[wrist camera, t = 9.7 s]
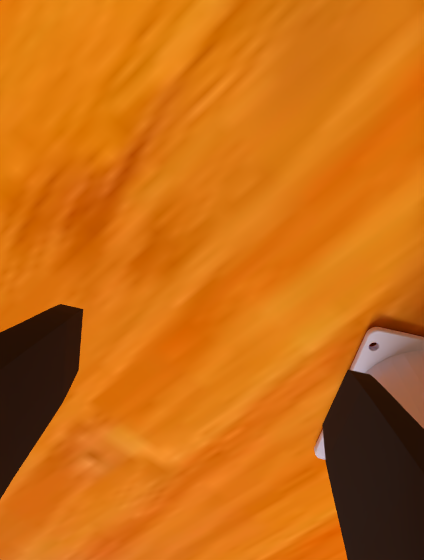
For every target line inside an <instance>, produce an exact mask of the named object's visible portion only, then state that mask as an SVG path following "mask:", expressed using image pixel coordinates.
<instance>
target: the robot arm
mask: <svg viewBox="0 0 424 560" xmlns="http://www.w3.org/2000/svg"><path fill="white" fill-rule="evenodd" d="M82 317H83V309H80V308H76V307H71V306H67V305H62V304H60V305H57V306H55V307H53V308H50V309H48V310H46V311H44V312H42V313H40V314H38V315H36V316H34V317H32V318H30V319H28V320H26V321H24V322H22V323H20V324H17V325H15V326H13V327H11V328H9V329H7V330H5V331H3V332H1V333H0V499H1V497H2V495H3V494H4V492H5V491H6V489H7V487H8V486H9V484H10V482H11V481H12V479H13V477H14V476H15V474H16V473H17V471H18V470H19V468H20V467H21V465H22V464H23V462H24V461H25V459H26V458H27V456H28V455H29V453H30V452H31V450H32V449H33V447H34V446H35V444H36V443H37V441H38V440H39V438H40V437H41V435H42V434H43V432H44V431H45V429H46V427H47V426H48V424H49V423H50V421H51V420H52V418H53V417H54V415H55V414H56V412H57V411H58V409H59V407H60V406H61V404H62V403H63V401H64V399H65V397H66V395H67V393H68V391H69V389H70V387H71V385H72V383H73V380H74V378H75V376H76V374H77V372H78V369H79V356H80V343H81V330H82ZM373 342H376V343H377V344H376V345H375V346H373V347H370V346H369V345H370V344H371V343H373ZM314 451H315V455H316V456H317V457H318V458H321V459H325V460H326V465H327V470H328V474H329V479H330V483H331V488H332V493H333V497H334V501H335V506H336V510H337V514H338V519H339V523H340V527H341V532H342V536H343V540H344V545H345V549H346V554H347V559H348V560H424V337H422V336H417V335H413V334H408V333H404V332H399V331H395V330H390V329H386V328H381V327H373V328H371V329H369V330H368V331H367V333H366V335H365V337H364V339H363V341H362V343H361V346H360V348H359V350H358V352H357V355H356V357H355V359H354V361H353V363H352V366H351V368H350V370H348V371H347V373H346V375H345V377H344V379H343V382H342V384H341V386H340V388H339V390H338V392H337V395H336V397H335V399H334V401H333V403H332V405H331V408H330V410H329V412H328V414H327V416H326V418H325V421H324V423H323V430H322V432H321V434H320V436H319V439H318V441H317V443H316V445H315V448H314Z"/></svg>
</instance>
